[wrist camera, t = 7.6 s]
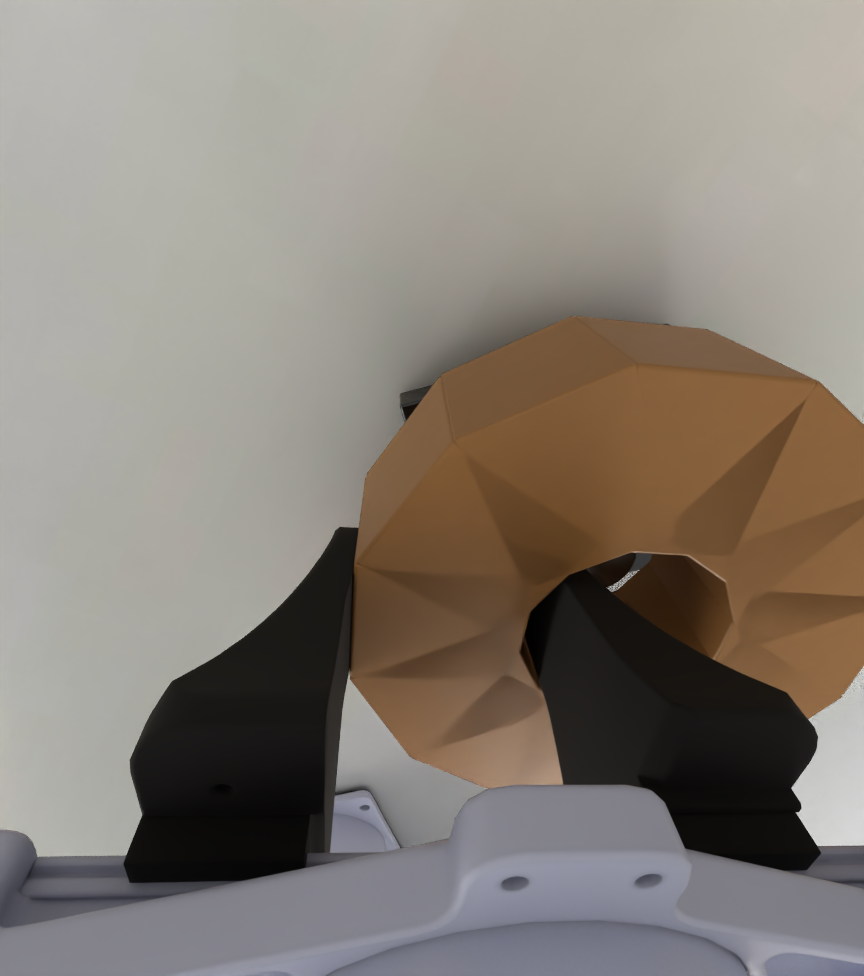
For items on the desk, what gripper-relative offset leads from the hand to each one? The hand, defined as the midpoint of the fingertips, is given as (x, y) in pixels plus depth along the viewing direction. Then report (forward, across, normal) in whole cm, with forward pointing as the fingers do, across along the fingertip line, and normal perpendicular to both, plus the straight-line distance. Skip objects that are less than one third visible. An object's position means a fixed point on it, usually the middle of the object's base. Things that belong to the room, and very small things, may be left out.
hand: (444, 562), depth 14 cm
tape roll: (+1, -4, 0) cm, 4 cm away
